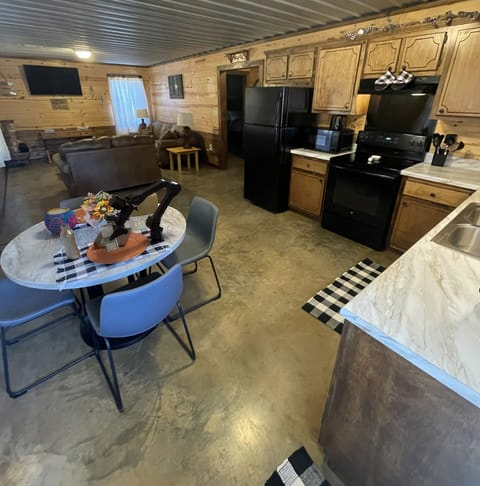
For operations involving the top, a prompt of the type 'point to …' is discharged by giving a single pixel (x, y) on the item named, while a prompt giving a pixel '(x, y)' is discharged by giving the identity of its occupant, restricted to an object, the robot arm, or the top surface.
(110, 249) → the syrup box
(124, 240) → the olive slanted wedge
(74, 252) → the plastic bottle
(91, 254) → the top surface
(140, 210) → the cheese
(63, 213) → the ceramic pot
